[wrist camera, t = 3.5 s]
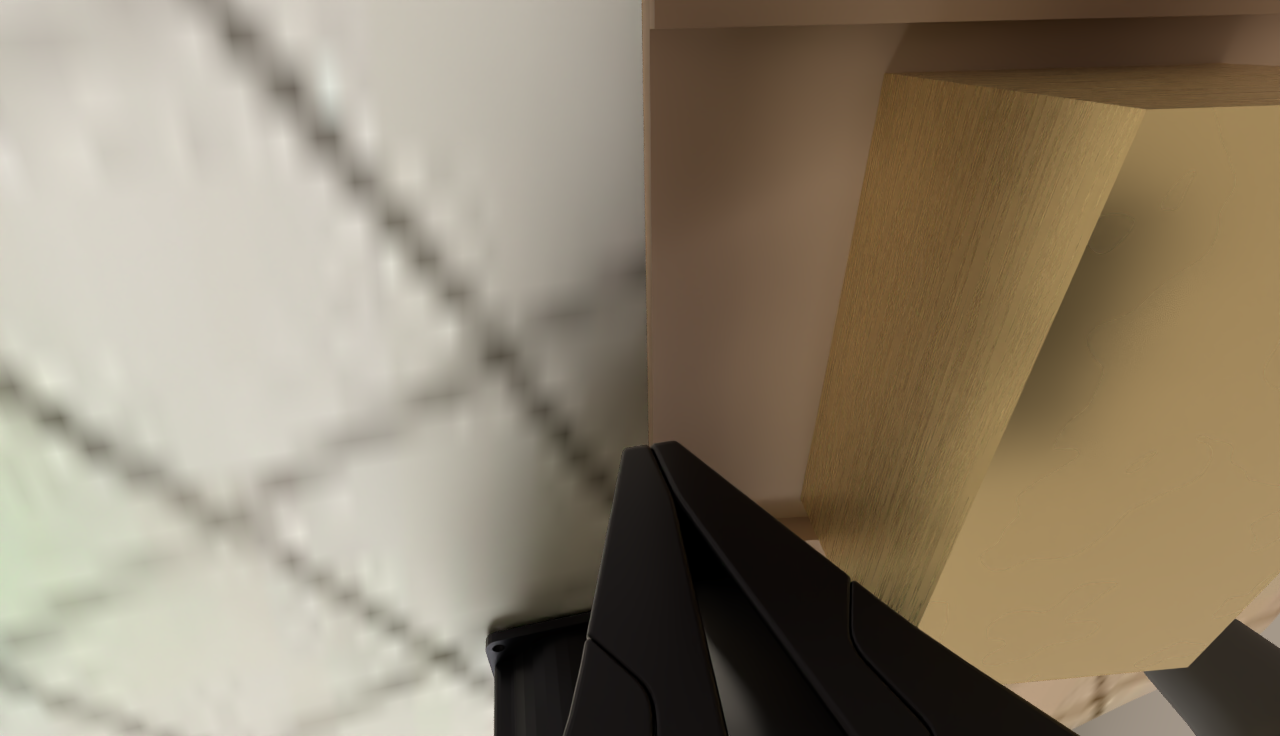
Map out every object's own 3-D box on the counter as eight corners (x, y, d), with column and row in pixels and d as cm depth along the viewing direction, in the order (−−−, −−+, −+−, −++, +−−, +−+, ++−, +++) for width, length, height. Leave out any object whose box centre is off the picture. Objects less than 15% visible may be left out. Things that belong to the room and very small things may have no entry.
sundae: (1148, 481, 27) (1700, 862, 15) (1108, 561, 31) (1520, 919, 18) (1031, 520, 26) (1500, 949, 14) (1005, 597, 30) (1357, 989, 18)
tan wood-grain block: (800, 498, 14) (887, 694, 10) (884, 72, 9) (1148, 108, 5) (1015, 483, 15) (1188, 667, 10) (1221, 62, 9) (1749, 88, 5)
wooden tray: (648, 510, 17) (662, 631, 14) (638, -80, 9) (664, -146, 6) (1396, 456, 18) (1582, 554, 15) (1939, -98, 11) (2589, -160, 7)
